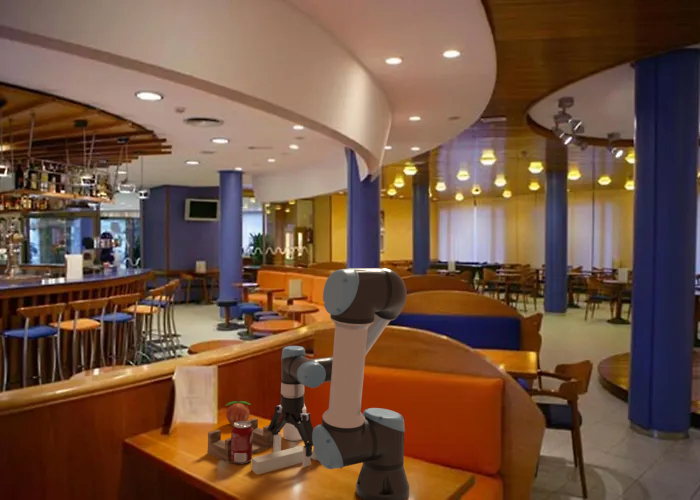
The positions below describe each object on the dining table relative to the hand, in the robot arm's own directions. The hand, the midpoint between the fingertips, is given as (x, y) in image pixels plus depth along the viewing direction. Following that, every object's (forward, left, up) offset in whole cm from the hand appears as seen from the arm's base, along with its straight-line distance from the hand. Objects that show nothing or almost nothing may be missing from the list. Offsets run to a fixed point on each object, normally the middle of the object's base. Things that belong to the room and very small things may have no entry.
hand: (291, 459), depth 179 cm
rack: (+19, +5, 0) cm, 19 cm away
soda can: (+11, +11, 0) cm, 16 cm away
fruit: (+39, -9, 0) cm, 40 cm away
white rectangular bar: (0, +5, 0) cm, 5 cm away
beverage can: (+14, -15, 0) cm, 20 cm away
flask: (-6, -8, 0) cm, 10 cm away
